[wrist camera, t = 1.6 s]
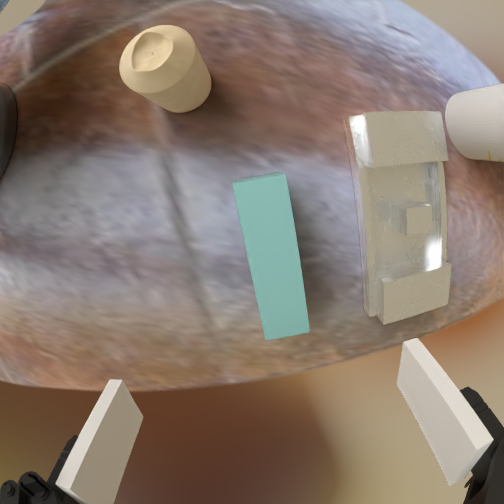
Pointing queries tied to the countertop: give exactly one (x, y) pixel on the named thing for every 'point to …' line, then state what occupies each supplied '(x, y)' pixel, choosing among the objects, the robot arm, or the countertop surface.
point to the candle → (166, 68)
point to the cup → (477, 123)
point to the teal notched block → (272, 253)
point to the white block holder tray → (400, 210)
